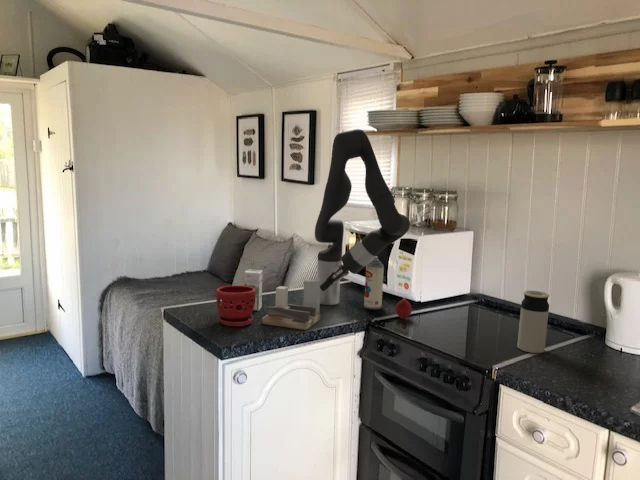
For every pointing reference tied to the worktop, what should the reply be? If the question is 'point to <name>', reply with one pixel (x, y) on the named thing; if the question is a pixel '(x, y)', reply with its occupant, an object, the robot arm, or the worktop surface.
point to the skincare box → (312, 293)
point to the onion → (403, 308)
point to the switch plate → (292, 316)
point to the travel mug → (533, 322)
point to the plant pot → (236, 305)
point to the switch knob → (282, 297)
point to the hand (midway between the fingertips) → (321, 288)
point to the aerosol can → (374, 284)
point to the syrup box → (255, 285)
